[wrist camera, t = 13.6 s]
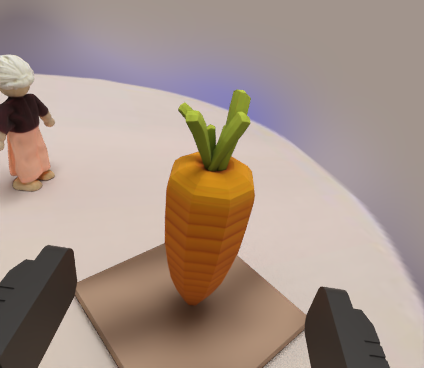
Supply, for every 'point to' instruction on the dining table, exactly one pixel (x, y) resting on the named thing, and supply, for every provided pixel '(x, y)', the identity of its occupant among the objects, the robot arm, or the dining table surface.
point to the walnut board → (187, 317)
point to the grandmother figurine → (23, 125)
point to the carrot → (208, 204)
